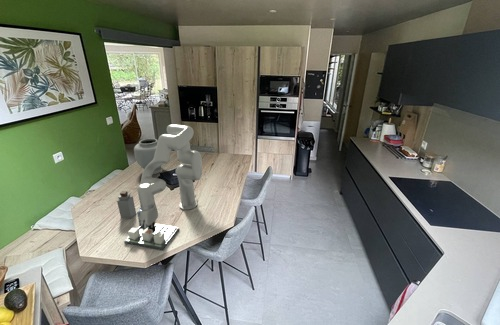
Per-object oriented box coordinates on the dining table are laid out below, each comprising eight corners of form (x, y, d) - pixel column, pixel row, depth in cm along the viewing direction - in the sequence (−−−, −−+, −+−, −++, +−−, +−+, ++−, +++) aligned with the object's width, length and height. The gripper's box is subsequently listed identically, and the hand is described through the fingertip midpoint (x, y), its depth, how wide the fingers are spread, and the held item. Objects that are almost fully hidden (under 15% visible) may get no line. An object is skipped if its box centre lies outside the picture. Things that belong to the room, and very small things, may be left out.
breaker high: (158, 238, 135) (157, 231, 134) (165, 239, 135) (164, 232, 133) (154, 243, 132) (153, 236, 130) (161, 244, 131) (160, 237, 129)
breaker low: (134, 234, 139) (132, 227, 137) (140, 235, 138) (138, 228, 136) (129, 238, 135) (127, 231, 133) (135, 240, 134) (134, 232, 132)
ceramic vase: (171, 172, 224) (167, 142, 213) (141, 179, 210) (135, 147, 199) (163, 163, 244) (159, 135, 233) (135, 169, 230) (129, 139, 219)
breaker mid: (147, 235, 138) (145, 228, 136) (153, 236, 137) (152, 229, 135) (142, 240, 134) (141, 232, 132) (149, 241, 133) (148, 233, 131)
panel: (144, 224, 151) (143, 220, 150) (179, 230, 146) (178, 226, 145) (124, 243, 134) (123, 239, 133) (163, 250, 130) (162, 246, 129)
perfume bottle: (126, 212, 162) (121, 189, 156) (136, 213, 162) (131, 189, 156) (121, 218, 156) (115, 194, 149) (131, 218, 156) (126, 194, 149)
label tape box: (150, 216, 159) (147, 200, 154) (154, 218, 157) (151, 202, 152) (138, 223, 152) (135, 206, 147) (143, 225, 150) (139, 208, 145)
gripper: (149, 197, 140) (154, 223, 147) (133, 211, 126) (138, 239, 133) (161, 198, 138) (165, 225, 145) (145, 213, 125) (150, 241, 132)
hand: (152, 231), depth 139 cm, fingers closed
